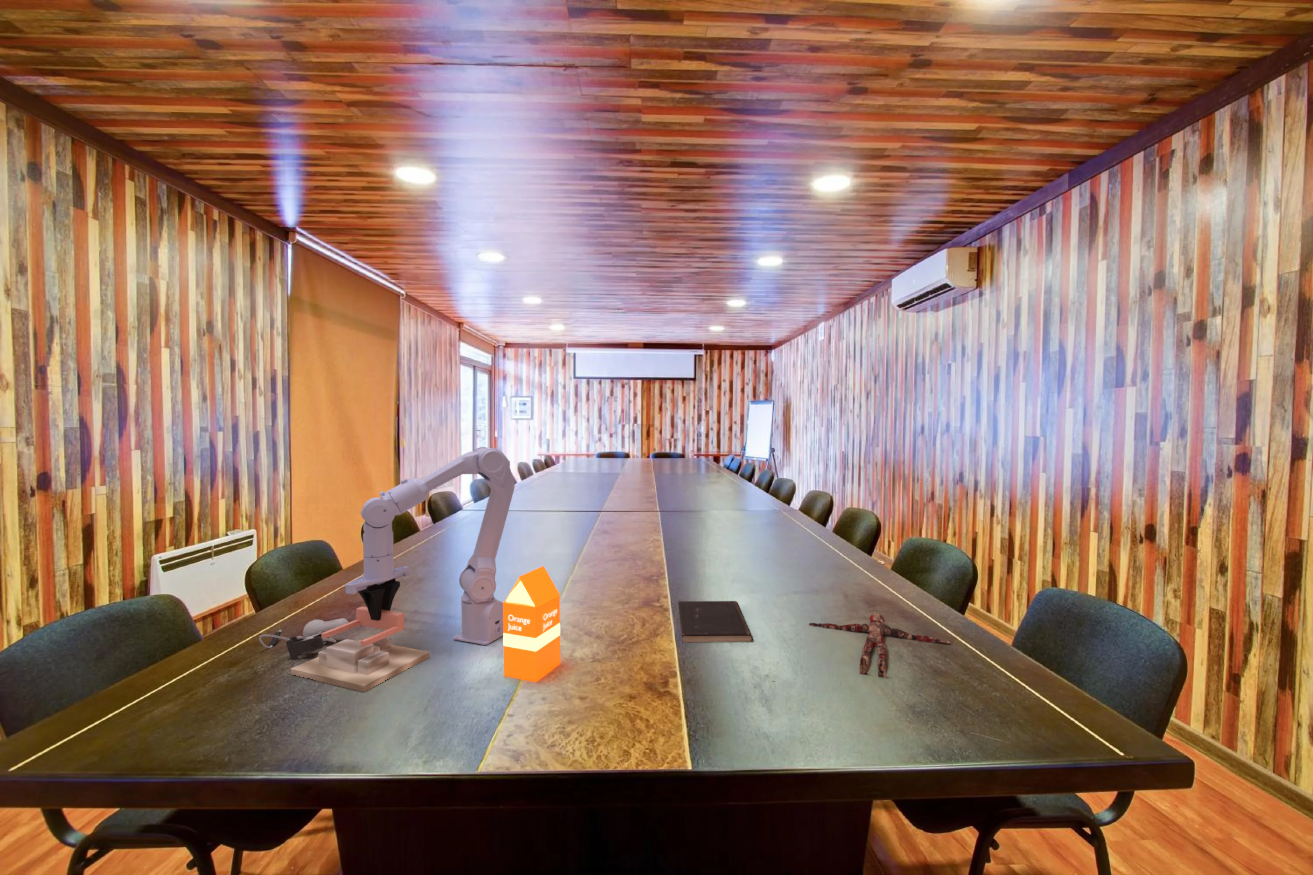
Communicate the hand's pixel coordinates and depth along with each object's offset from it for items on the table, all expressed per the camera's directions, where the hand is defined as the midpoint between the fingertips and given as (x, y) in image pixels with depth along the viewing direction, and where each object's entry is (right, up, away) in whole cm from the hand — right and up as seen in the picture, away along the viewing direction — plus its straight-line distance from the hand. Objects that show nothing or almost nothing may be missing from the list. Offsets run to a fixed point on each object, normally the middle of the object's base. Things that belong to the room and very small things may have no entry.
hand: (380, 617), depth 116 cm
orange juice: (+34, -9, -6) cm, 36 cm away
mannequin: (+107, -8, +3) cm, 107 cm away
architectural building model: (-2, -9, -4) cm, 10 cm away
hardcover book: (+73, -8, +18) cm, 75 cm away
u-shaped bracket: (-2, -2, -4) cm, 4 cm away
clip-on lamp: (-20, -9, +5) cm, 23 cm away
